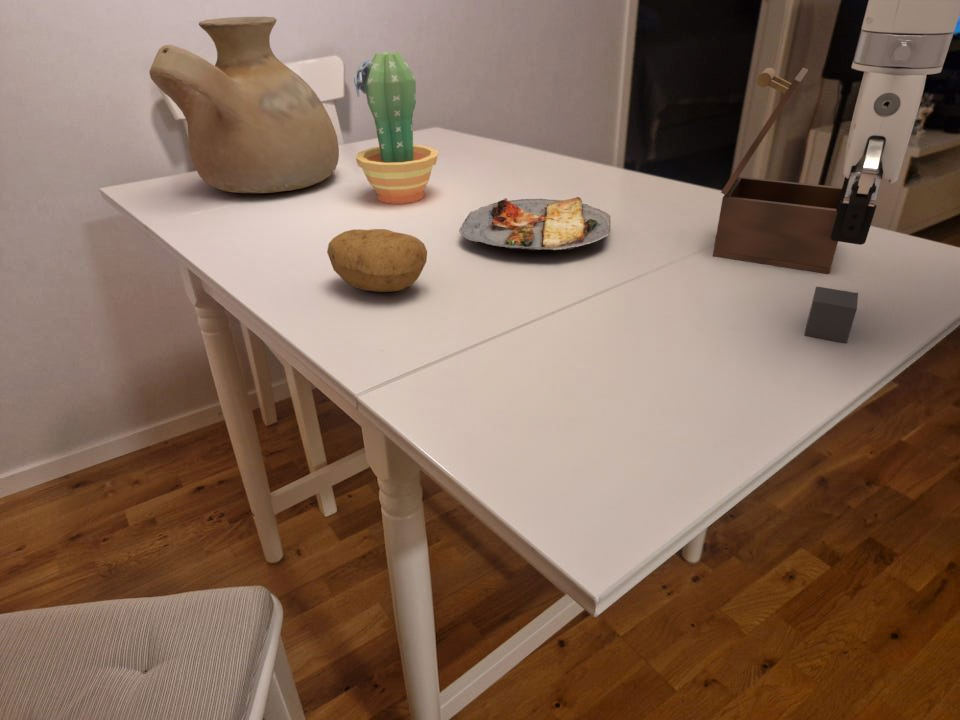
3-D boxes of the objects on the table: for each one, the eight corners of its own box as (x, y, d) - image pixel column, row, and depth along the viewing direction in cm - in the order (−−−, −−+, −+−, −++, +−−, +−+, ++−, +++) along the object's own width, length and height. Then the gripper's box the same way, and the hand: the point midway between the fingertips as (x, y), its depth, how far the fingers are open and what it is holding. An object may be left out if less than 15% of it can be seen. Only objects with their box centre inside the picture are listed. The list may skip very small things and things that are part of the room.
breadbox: (834, 245, 99) (849, 188, 95) (829, 273, 90) (846, 211, 86) (726, 231, 105) (736, 176, 101) (712, 255, 97) (722, 197, 92)
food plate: (480, 207, 119) (479, 187, 117) (610, 212, 115) (612, 192, 113) (448, 259, 98) (447, 237, 96) (607, 268, 94) (609, 244, 92)
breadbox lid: (808, 69, 90) (775, 53, 91) (800, 82, 82) (764, 63, 82) (739, 174, 101) (710, 158, 102) (725, 195, 92) (694, 177, 93)
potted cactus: (406, 180, 135) (395, 46, 122) (458, 195, 125) (452, 51, 112) (343, 197, 125) (325, 54, 112) (394, 215, 116) (380, 60, 103)
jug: (371, 175, 138) (354, 14, 123) (237, 220, 115) (194, 29, 100) (282, 157, 153) (256, 12, 138) (146, 195, 130) (97, 25, 114)
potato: (355, 268, 96) (348, 215, 92) (441, 282, 91) (438, 226, 87) (315, 295, 88) (306, 238, 84) (407, 312, 83) (402, 252, 79)
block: (848, 326, 77) (858, 292, 75) (846, 343, 74) (857, 308, 72) (807, 319, 79) (816, 286, 77) (804, 335, 76) (813, 300, 74)
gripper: (953, 66, 54) (888, 260, 63) (940, 45, 67) (888, 209, 76) (851, 61, 57) (803, 248, 66) (858, 43, 70) (817, 200, 79)
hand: (849, 227), depth 71 cm, fingers open, 9 cm apart
